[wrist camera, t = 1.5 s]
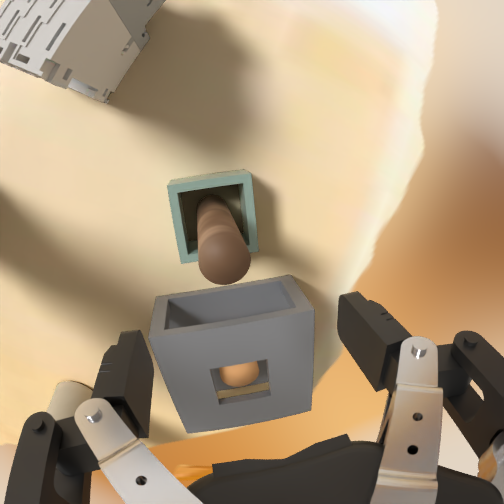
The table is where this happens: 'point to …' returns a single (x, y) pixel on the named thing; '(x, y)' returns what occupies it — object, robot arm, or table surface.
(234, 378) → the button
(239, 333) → the gray open box frame
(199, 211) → the brown rounded rod
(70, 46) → the circuit breaker
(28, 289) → the table surface
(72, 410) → the travel mug
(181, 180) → the holder
